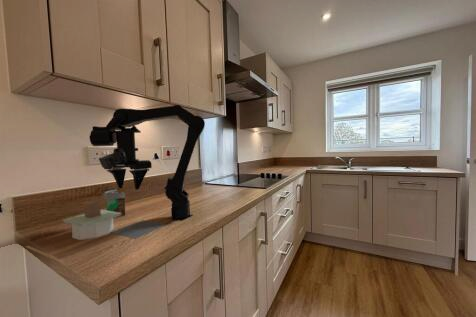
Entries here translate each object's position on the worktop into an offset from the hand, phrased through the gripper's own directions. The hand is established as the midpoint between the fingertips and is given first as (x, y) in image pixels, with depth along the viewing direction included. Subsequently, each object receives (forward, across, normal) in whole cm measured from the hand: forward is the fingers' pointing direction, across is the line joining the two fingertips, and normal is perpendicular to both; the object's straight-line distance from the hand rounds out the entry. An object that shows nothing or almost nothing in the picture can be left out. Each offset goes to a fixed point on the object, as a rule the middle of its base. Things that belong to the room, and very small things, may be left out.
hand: (128, 188), depth 72 cm
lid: (+8, -2, -11) cm, 13 cm away
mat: (+12, +9, -3) cm, 16 cm away
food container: (+13, -15, +3) cm, 20 cm away
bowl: (+12, -2, -11) cm, 17 cm away
